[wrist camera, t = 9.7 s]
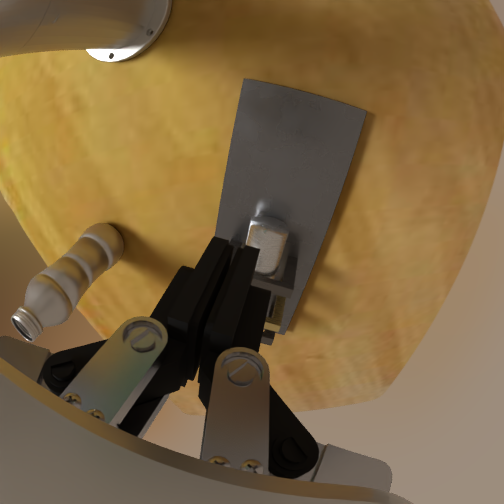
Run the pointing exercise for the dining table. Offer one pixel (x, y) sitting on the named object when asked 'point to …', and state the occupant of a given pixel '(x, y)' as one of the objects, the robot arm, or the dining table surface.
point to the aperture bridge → (276, 315)
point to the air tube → (267, 243)
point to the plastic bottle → (67, 280)
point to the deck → (287, 171)
